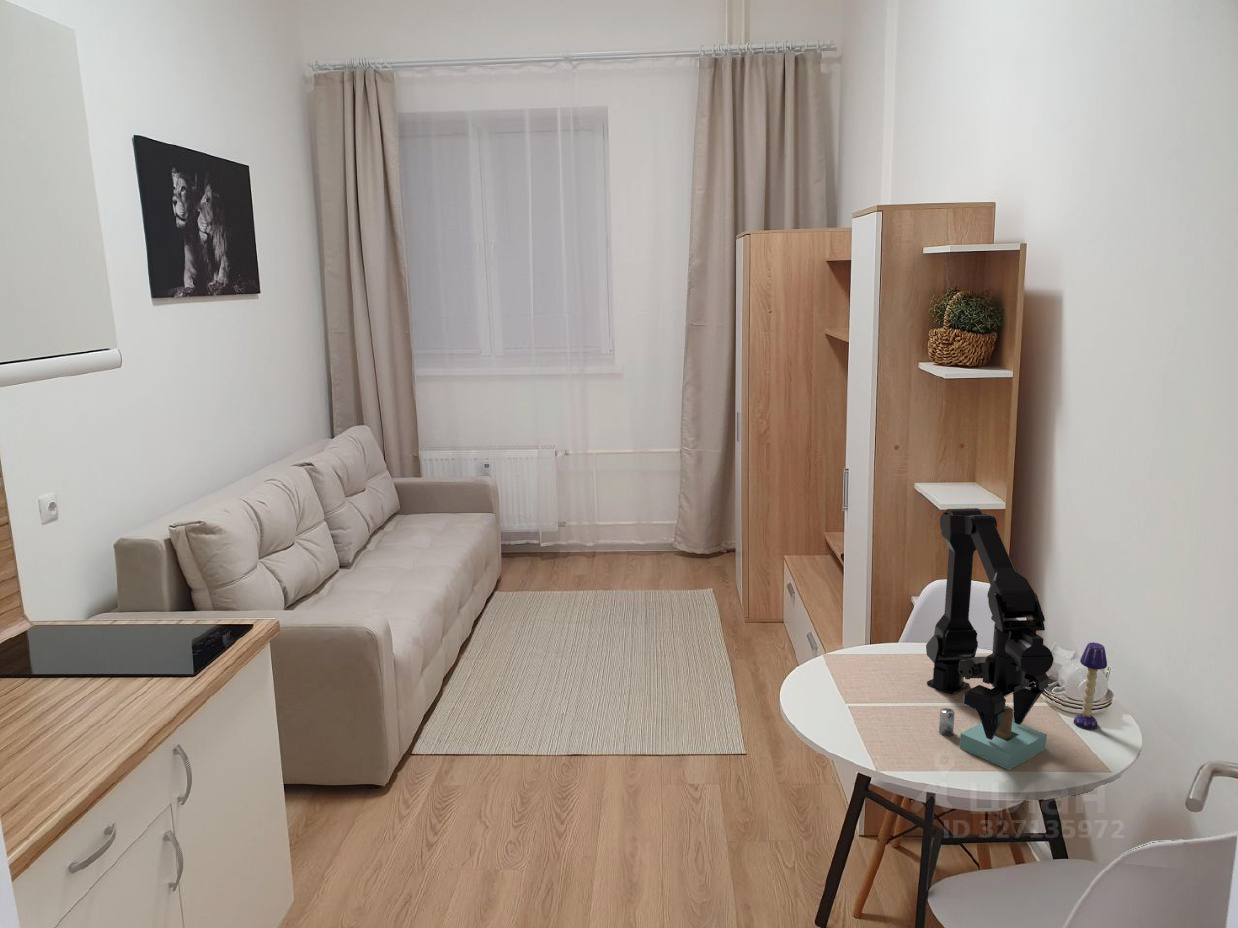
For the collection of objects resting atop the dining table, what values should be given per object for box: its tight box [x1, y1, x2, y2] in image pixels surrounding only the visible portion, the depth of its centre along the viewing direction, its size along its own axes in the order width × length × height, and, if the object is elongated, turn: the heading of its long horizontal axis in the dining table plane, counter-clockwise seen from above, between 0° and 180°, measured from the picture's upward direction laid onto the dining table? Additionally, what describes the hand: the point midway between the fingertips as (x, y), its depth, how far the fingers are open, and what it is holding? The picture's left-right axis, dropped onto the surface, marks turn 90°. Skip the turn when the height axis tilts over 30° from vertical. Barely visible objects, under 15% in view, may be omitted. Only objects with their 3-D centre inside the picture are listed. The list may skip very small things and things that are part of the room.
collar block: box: [959, 719, 1048, 771], centre depth 174 cm, size 12×10×3 cm
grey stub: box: [938, 707, 955, 737], centre depth 180 cm, size 3×3×4 cm
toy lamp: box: [1073, 641, 1108, 730], centre depth 181 cm, size 5×5×17 cm
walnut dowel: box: [996, 705, 1014, 741], centre depth 173 cm, size 3×3×8 cm
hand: (1003, 730), depth 174 cm, fingers open, 9 cm apart
